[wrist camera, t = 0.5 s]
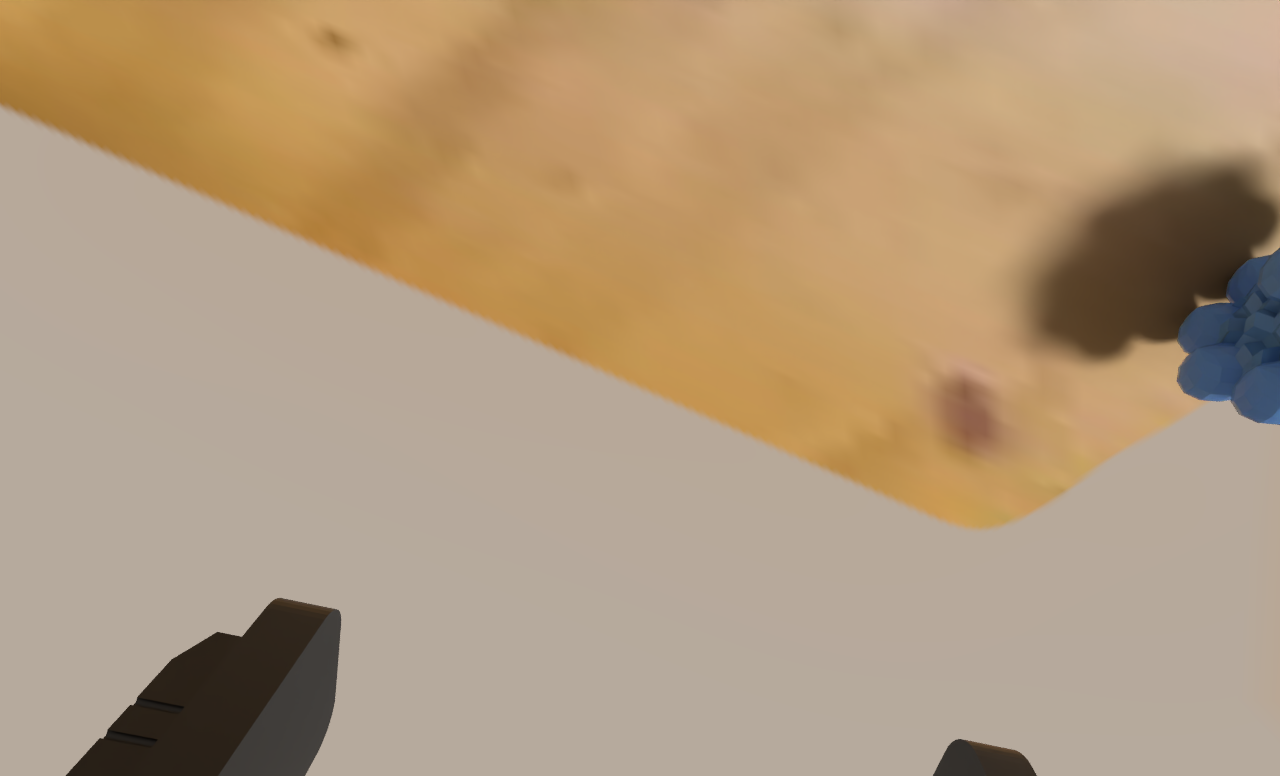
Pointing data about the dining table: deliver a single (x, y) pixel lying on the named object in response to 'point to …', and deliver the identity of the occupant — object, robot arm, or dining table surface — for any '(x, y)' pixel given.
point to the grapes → (1238, 344)
